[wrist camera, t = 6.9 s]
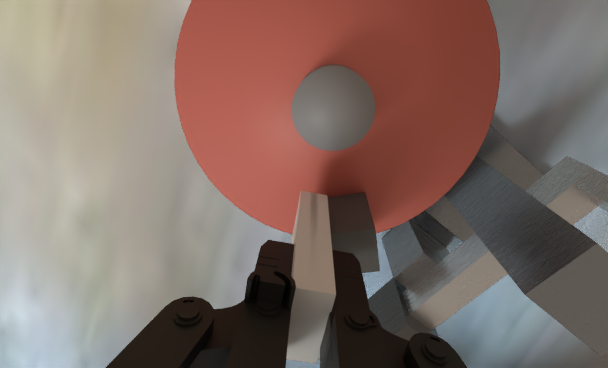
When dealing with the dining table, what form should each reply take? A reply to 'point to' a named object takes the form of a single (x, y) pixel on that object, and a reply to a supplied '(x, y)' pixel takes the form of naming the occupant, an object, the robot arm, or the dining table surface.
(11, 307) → the dining table surface
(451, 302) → the hook rod
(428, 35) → the pot lid
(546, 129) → the dining table surface
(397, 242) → the grey block assembly
